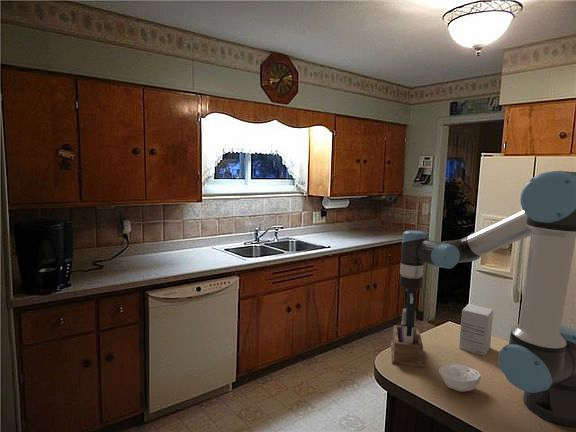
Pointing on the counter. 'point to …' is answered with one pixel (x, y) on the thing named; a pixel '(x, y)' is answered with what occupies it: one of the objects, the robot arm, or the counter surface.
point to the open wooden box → (406, 349)
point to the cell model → (460, 377)
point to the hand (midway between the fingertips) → (407, 338)
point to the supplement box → (476, 329)
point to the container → (404, 326)
